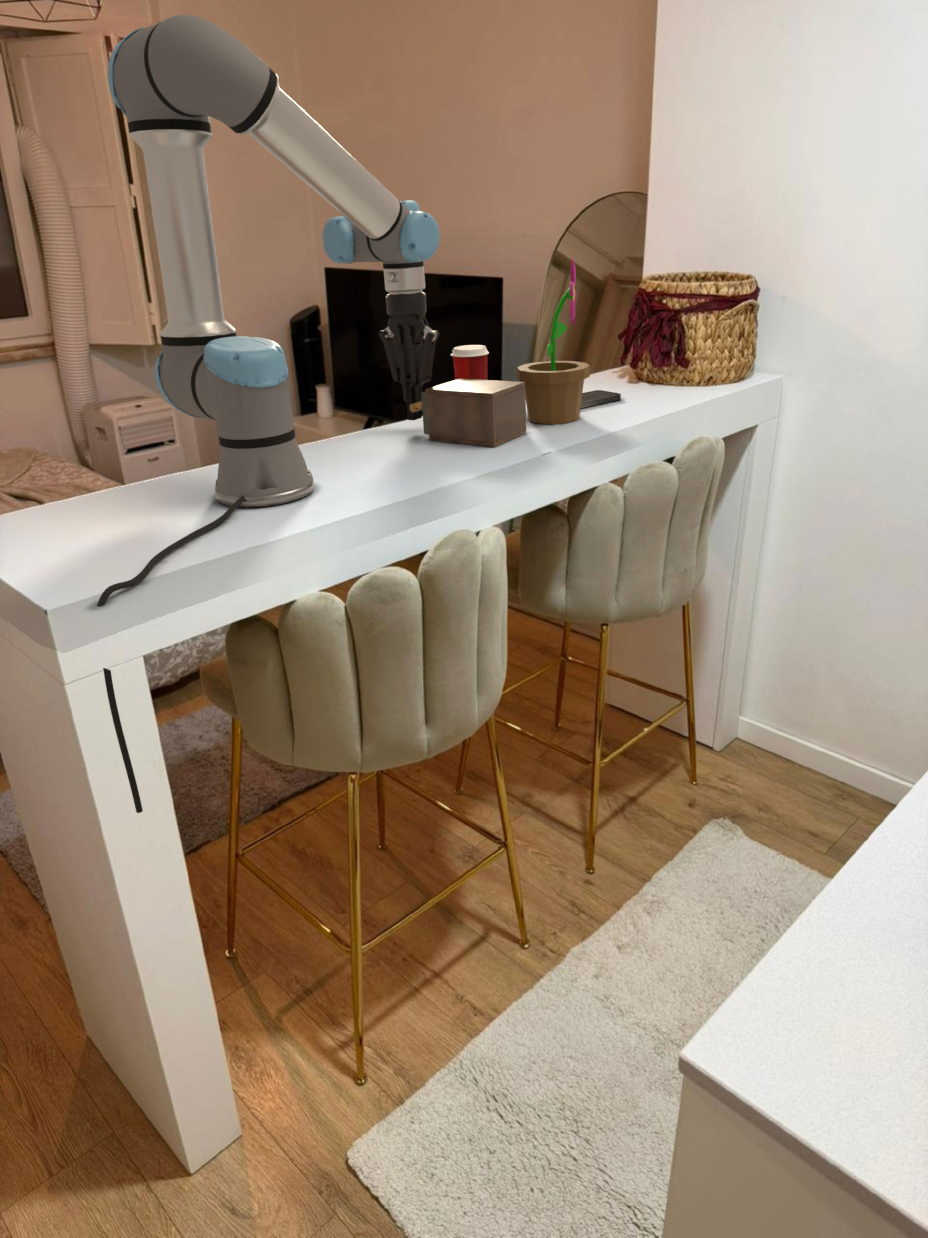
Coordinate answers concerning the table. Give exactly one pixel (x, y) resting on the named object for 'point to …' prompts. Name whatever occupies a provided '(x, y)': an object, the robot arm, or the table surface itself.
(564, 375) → the flowerpot
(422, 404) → the drawer
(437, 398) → the cabinet
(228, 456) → the robot arm
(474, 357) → the paper cup
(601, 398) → the phone
